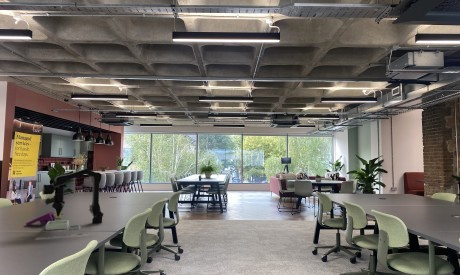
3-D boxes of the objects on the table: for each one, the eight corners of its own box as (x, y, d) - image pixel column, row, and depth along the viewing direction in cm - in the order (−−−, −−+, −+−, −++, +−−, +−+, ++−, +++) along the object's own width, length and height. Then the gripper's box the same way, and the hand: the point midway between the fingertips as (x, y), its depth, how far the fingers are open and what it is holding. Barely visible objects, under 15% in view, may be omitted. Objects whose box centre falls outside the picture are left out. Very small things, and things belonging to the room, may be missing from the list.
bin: (68, 227, 234) (68, 220, 234) (67, 230, 222) (67, 223, 222) (48, 228, 229) (48, 221, 229) (45, 232, 217) (45, 224, 217)
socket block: (80, 228, 228) (80, 224, 228) (80, 231, 220) (80, 226, 221) (68, 229, 225) (68, 225, 225) (67, 232, 217) (67, 227, 218)
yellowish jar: (55, 219, 227) (56, 206, 228) (61, 218, 228) (61, 206, 229) (54, 220, 224) (55, 207, 224) (60, 219, 225) (61, 206, 226)
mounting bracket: (28, 234, 234) (53, 223, 239) (23, 224, 234) (48, 213, 238) (33, 232, 243) (57, 220, 248) (28, 222, 243) (52, 211, 248)
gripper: (48, 192, 233) (47, 214, 232) (44, 195, 216) (43, 218, 214) (65, 192, 237) (64, 213, 236) (62, 194, 220) (61, 217, 219)
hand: (58, 215), depth 226 cm, fingers closed on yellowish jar, 4 cm apart
